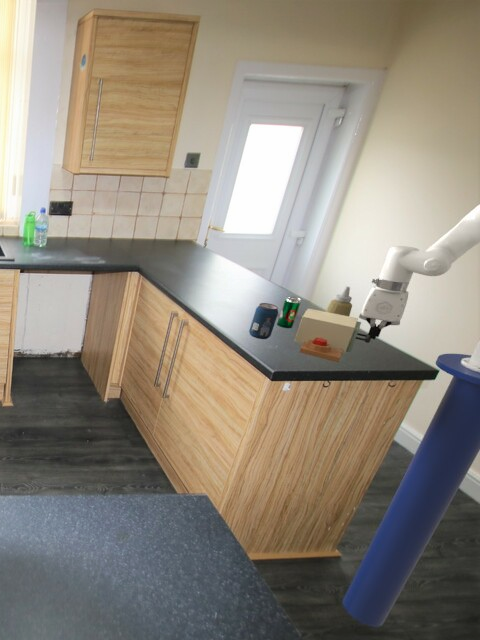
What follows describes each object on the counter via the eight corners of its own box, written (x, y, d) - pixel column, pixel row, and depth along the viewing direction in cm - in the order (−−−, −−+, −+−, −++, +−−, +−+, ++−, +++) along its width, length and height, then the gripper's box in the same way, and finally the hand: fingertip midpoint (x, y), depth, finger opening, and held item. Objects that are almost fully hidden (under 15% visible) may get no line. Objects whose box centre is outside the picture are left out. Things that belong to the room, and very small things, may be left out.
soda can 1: (257, 331, 176) (267, 301, 171) (274, 339, 171) (284, 308, 165) (243, 333, 174) (253, 303, 169) (259, 341, 168) (270, 310, 163)
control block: (340, 355, 159) (344, 345, 158) (338, 362, 154) (342, 352, 152) (302, 345, 166) (305, 336, 164) (298, 352, 160) (302, 342, 159)
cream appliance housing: (348, 343, 169) (358, 318, 165) (344, 354, 160) (354, 327, 156) (299, 332, 177) (308, 308, 174) (294, 342, 169) (302, 316, 165)
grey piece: (367, 346, 165) (375, 325, 162) (364, 355, 157) (373, 334, 154) (308, 332, 175) (314, 312, 172) (302, 341, 167) (310, 320, 164)
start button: (326, 344, 159) (328, 339, 158) (325, 347, 157) (326, 342, 156) (313, 341, 161) (315, 336, 161) (312, 344, 159) (313, 339, 158)
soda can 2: (278, 323, 185) (288, 295, 180) (293, 327, 182) (303, 298, 177) (274, 327, 182) (284, 298, 177) (289, 331, 179) (299, 301, 173)
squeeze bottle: (317, 332, 178) (334, 287, 170) (317, 325, 184) (334, 281, 176) (343, 338, 174) (362, 292, 166) (342, 331, 180) (361, 286, 172)
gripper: (362, 283, 154) (343, 335, 161) (423, 292, 145) (400, 347, 152) (363, 279, 159) (346, 329, 166) (422, 287, 150) (401, 340, 157)
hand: (372, 337), depth 159 cm, fingers closed
